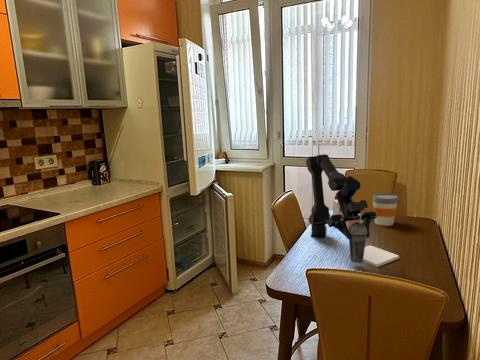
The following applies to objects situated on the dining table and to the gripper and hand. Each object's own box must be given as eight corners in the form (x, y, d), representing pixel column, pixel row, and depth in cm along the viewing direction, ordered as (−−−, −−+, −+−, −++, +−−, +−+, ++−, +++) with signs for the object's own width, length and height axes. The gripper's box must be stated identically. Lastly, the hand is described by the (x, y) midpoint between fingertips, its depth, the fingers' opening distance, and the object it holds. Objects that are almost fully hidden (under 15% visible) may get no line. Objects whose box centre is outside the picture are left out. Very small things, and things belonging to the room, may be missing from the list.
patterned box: (360, 232, 173) (361, 209, 170) (348, 233, 172) (348, 209, 170) (343, 219, 194) (343, 198, 191) (332, 220, 193) (332, 199, 191)
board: (348, 255, 146) (348, 252, 146) (370, 247, 153) (370, 245, 153) (376, 267, 134) (376, 264, 134) (398, 258, 141) (398, 255, 141)
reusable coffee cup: (399, 222, 186) (401, 195, 183) (392, 228, 177) (393, 200, 174) (376, 218, 194) (377, 192, 191) (368, 224, 185) (369, 196, 182)
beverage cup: (344, 257, 138) (345, 209, 134) (361, 256, 139) (363, 208, 135) (351, 265, 131) (352, 215, 127) (369, 264, 132) (372, 213, 128)
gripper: (331, 194, 132) (344, 232, 123) (375, 191, 135) (391, 227, 127) (322, 209, 141) (333, 244, 133) (364, 205, 144) (377, 239, 136)
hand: (359, 238), depth 132 cm, fingers closed on beverage cup, 7 cm apart
